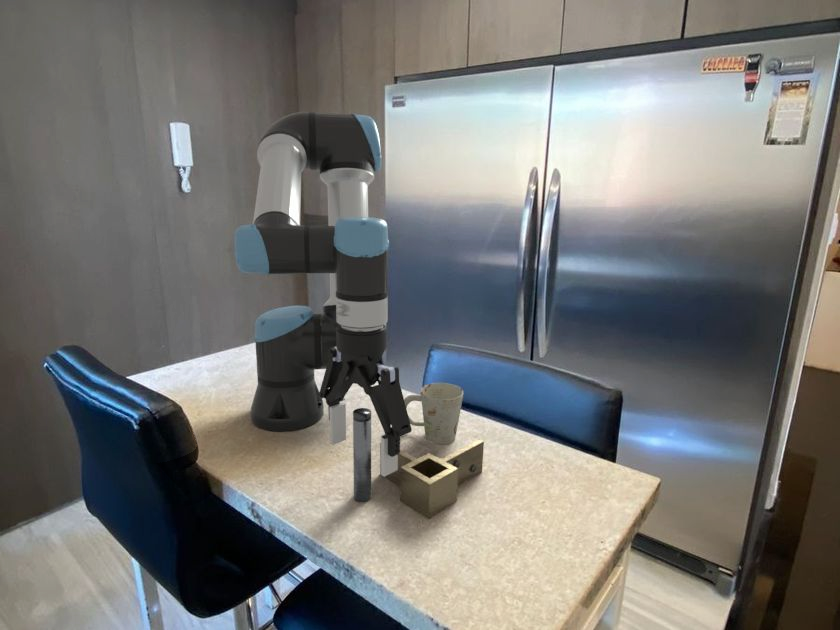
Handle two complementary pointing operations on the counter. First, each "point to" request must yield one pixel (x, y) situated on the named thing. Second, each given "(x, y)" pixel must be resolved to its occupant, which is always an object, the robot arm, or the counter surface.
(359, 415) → the pin
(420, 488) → the hinge
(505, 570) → the counter surface
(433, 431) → the mug
